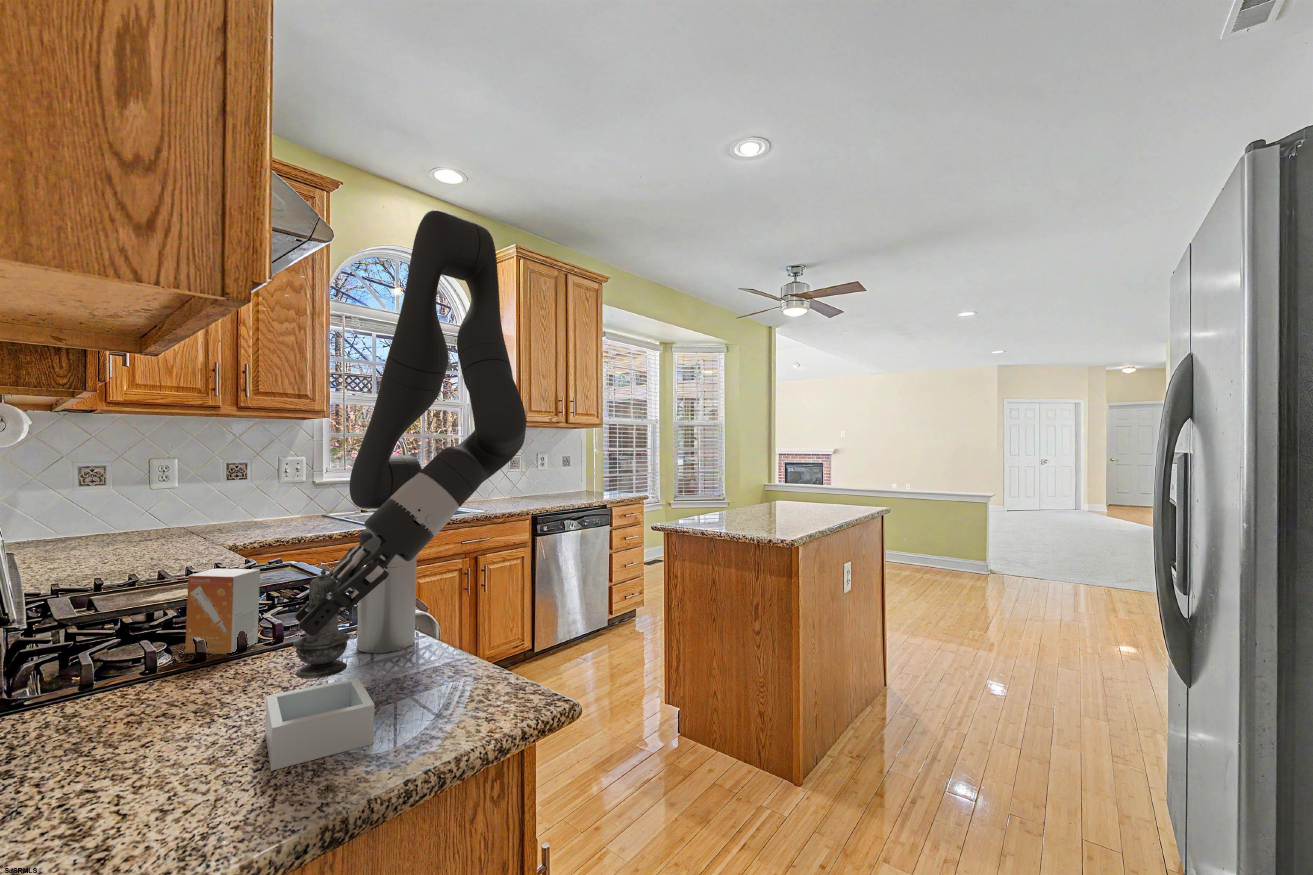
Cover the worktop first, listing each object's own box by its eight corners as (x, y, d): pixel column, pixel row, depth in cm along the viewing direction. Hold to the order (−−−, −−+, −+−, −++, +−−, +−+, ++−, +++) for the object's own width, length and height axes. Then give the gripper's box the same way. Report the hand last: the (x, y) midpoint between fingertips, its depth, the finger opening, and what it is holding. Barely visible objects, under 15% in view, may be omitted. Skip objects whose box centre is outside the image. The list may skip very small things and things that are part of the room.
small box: (183, 654, 97) (186, 575, 97) (214, 641, 103) (216, 567, 103) (231, 655, 96) (233, 576, 97) (259, 642, 103) (261, 568, 103)
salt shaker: (324, 681, 66) (326, 574, 66) (280, 677, 67) (282, 572, 67) (360, 663, 72) (362, 564, 72) (319, 659, 73) (321, 563, 73)
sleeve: (265, 733, 70) (266, 695, 70) (357, 712, 76) (358, 677, 76) (270, 770, 62) (272, 728, 62) (373, 743, 68) (374, 704, 68)
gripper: (379, 493, 80) (271, 595, 72) (406, 499, 69) (281, 621, 61) (419, 529, 83) (320, 630, 75) (451, 541, 72) (337, 662, 64)
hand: (303, 626), depth 68 cm, fingers closed on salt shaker, 3 cm apart
